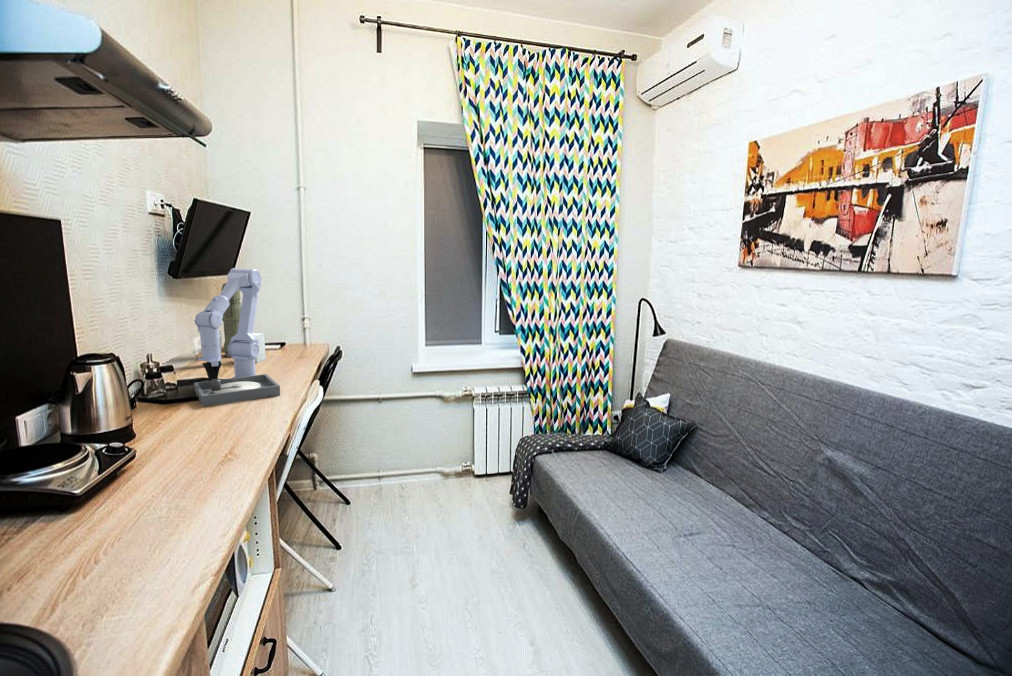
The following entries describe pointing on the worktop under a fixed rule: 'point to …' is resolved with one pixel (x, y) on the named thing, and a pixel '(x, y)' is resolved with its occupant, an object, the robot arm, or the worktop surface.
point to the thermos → (231, 319)
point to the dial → (232, 386)
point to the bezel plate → (266, 389)
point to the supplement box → (260, 347)
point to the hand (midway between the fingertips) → (213, 382)
